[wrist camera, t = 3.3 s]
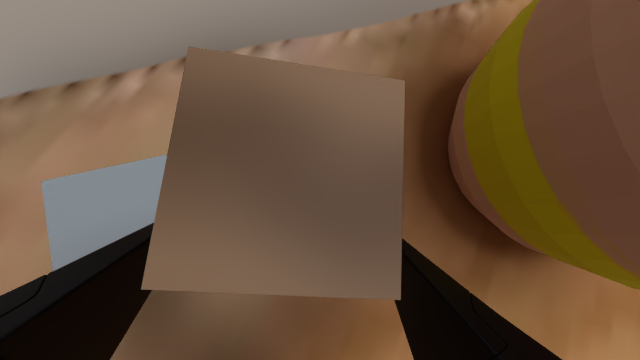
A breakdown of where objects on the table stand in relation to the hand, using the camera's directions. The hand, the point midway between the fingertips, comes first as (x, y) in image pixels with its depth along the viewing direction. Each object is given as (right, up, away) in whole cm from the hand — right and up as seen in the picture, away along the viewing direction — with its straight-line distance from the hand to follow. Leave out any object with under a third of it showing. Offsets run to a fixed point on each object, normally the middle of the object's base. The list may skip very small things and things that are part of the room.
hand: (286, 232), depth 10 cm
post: (-1, 0, +11) cm, 11 cm away
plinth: (-13, -1, +9) cm, 16 cm away
